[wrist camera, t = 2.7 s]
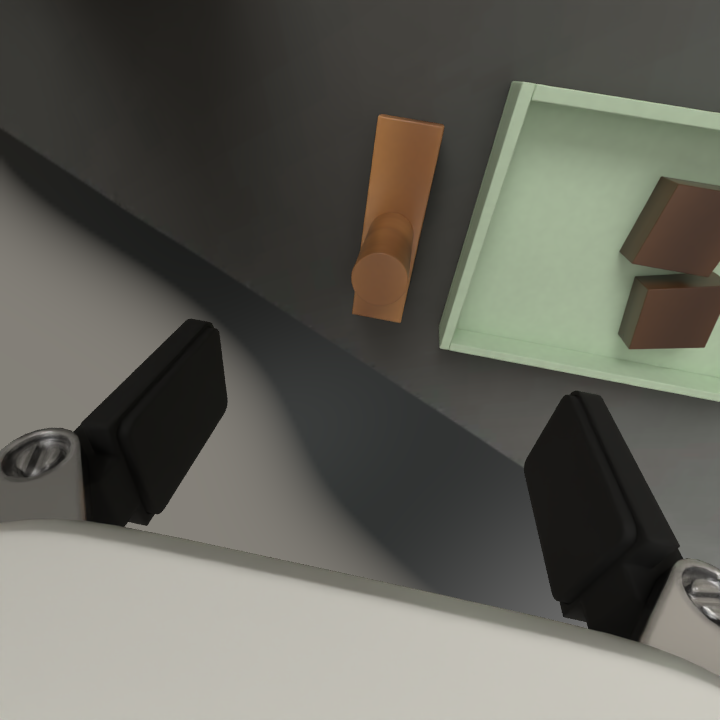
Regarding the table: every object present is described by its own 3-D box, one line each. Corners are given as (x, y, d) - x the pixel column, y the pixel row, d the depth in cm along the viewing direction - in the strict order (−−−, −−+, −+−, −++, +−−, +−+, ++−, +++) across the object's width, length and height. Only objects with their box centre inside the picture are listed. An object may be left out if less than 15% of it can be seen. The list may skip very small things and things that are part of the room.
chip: (617, 333, 25) (628, 350, 23) (634, 275, 22) (648, 289, 21) (688, 331, 24) (705, 348, 23) (714, 271, 22) (734, 285, 20)
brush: (357, 297, 27) (332, 370, 20) (383, 111, 20) (359, 130, 14) (402, 305, 27) (393, 382, 20) (443, 121, 20) (449, 145, 13)
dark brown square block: (618, 251, 22) (631, 264, 20) (660, 175, 19) (679, 183, 18) (690, 264, 22) (708, 277, 20) (742, 189, 19) (766, 198, 18)
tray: (438, 326, 27) (439, 348, 25) (511, 80, 19) (522, 81, 16) (730, 381, 26) (757, 409, 24) (947, 150, 18) (1020, 161, 16)
